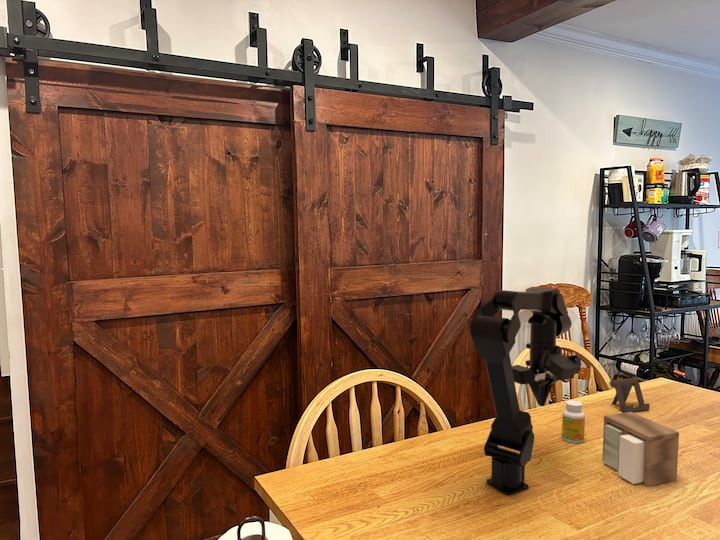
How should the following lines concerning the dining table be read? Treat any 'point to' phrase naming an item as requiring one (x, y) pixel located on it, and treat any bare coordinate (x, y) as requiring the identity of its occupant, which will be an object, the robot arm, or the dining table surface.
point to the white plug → (632, 458)
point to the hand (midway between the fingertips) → (541, 405)
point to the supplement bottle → (573, 422)
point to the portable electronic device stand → (623, 391)
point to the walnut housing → (658, 445)
